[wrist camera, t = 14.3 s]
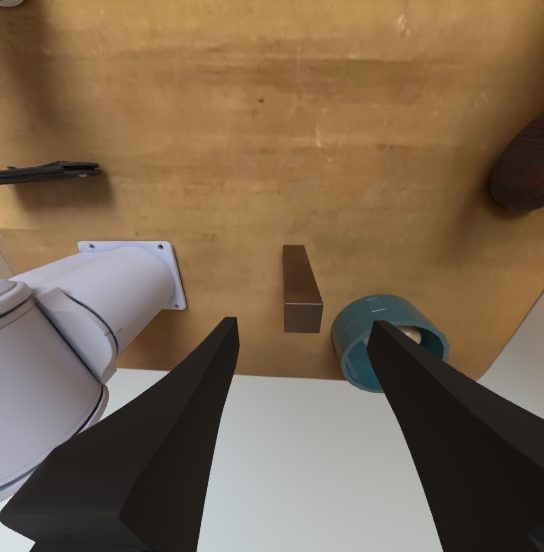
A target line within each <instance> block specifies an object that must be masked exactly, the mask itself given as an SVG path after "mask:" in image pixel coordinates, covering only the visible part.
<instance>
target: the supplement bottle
mask: <svg viewBox="0 0 544 552" xmlns="http://www.w3.org/2000/svg"><path fill="white" fill-rule="evenodd" d="M23 1H24V0H0V6H4V7H13V6H16V5H19V4H20V3H21V2H23Z"/></svg>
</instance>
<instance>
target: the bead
mask: <svg viewBox="0 0 544 552" xmlns="http://www.w3.org/2000/svg"><path fill="white" fill-rule="evenodd" d="M395 327H397V328H398V329H399V330H401V331H402V332H403V333H405V334H406V335H407V336H409V337H410V338H412V339H413V340H414V341H416V342H417V343H418V344H419V343H420V341H421V332H420V330H419V329H418V327H417V326H395Z"/></svg>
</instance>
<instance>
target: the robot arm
mask: <svg viewBox="0 0 544 552" xmlns="http://www.w3.org/2000/svg"><path fill="white" fill-rule="evenodd" d="M77 245H78V248H79V250H80V253H77V254H74V255H72V256H69V257H66V258H63V259H61V260H58V261H55V262H52V263H50V264H47V265H44V266H41V267H39V268H36V269H33V270H30V271H28V272H25V273H22V274H20V275H17V276H15V277H13V278H11V279H9V280H5V279H0V502H2V501H3V500H5V499H7V498H8V497H10V496H12V495H14V496H13V497H12V498H11V499H10V500H9V502H8V503H7V504H6V505H5V506H4V507H3V509H2V510H1V512H0V522H1V523H2V524H4V525H5V526H7V527H8V528H10V529H12V530H14V531H15V532H18V533H19V534H22V535H23V536H25V537H27V538H29V539H31V540H33V541H35V542H36V543H35V544H34V546H33V547H32V549H31V550H30V551H29V552H197V545H198V539H199V533H200V527H201V521H202V515H203V509H204V503H205V497H206V492H207V486H208V481H209V475H210V469H211V465H212V459H213V454H214V449H215V444H216V439H217V434H218V429H219V424H220V420H221V416H222V412H223V408H224V404H225V401H226V398H227V394H228V391H229V387H230V384H231V381H232V378H233V374H234V371H235V367H236V364H237V358H238V353H239V347H240V344H239V335H238V326H237V317H225V318H224V319H223V320H222V321H221V322H220V323H219V324H218V325H217V326H216V328H215V329H214V330H213V331H212V332H211V333H210V334H209V335H208V336H207V337H206V338H205V340H204V341H203V342H202V343H201V344H200V345H199V346H198V347H197V348H196V349H195V350H194V351H193V352H192V353H191V354H189V355H188V356H187V357H186V358H185V359H184V360H183V361H182V362H181V363H180V364H179V365H178V366H176V367H175V368H174V369H173V370H172V371H171V372H169V373H168V374H167V375H166V376H164V377H163V378H162V379H161V380H159V381H158V382H157V383H155V384H154V385H153V386H151V387H150V388H149V389H147V390H146V391H144V392H143V393H142V394H140V395H139V396H138V397H136V398H135V399H133V400H132V401H130V402H129V403H127V404H126V405H124V406H123V407H122V408H120V409H118V410H117V411H115V412H114V413H112V414H111V415H109V416H107V417H106V418H104V419H103V420H101V421H99V420H100V418H101V416H102V415H103V413H104V410H105V408H106V406H107V403H108V399H109V392H108V388H107V386H106V385H105V384H106V382H107V381H108V380H109V379H110V378H111V377H112V375H113V374H114V373H115V372H116V371H117V369H116V367H115V365H114V360H115V359H116V358H117V357H118V356H119V355H120V354H121V353H122V352H123V351H124V349H125V348H126V347H127V346H128V345H129V344H130V343H131V342H132V341H133V340H134V339H135V338H136V336H137V335H138V334H139V333H140V332H141V331H142V330H143V329H144V328H145V327H146V326H147V324H148V323H149V322H150V321H151V320H152V319H153V318H154V317H155V316H156V315H157V314H158V313H159V311H160V310H161V309H170V310H184V309H185V308H186V306H187V304H186V300H185V296H184V292H183V288H182V284H181V280H180V276H179V272H178V267H177V263H176V259H175V255H174V251H173V247H172V244H171V243H170V242H167V241H81V242H78V244H77ZM93 245H94V247H93ZM160 245H162V246H163V248H161V247H160ZM176 304H177V305H178V306H177V305H176ZM366 351H367V354H368V357H369V360H370V363H371V366H372V368H373V371H374V373H375V375H376V377H377V379H378V381H379V383H380V385H381V387H382V389H383V391H384V393H385V395H386V397H387V399H388V401H389V404H390V406H391V408H392V410H393V412H394V414H395V416H396V418H397V420H398V423H399V424H400V427H401V430H402V432H403V435H404V437H405V440H406V442H407V445H408V448H409V450H410V453H411V456H412V458H413V461H414V464H415V467H416V469H417V472H418V475H419V478H420V481H421V483H422V486H423V489H424V492H425V495H426V498H427V501H428V504H429V507H430V510H431V513H432V516H433V520H434V523H435V526H436V529H437V533H438V536H439V539H440V542H441V545H442V549H443V552H544V419H542V418H540V417H538V416H536V415H534V414H533V413H531V412H529V411H527V410H525V409H523V408H521V407H520V406H517V405H516V404H514V403H512V402H510V401H508V400H506V399H505V398H503V397H501V396H499V395H498V394H496V393H494V392H492V391H490V390H489V389H487V388H485V387H484V386H482V385H480V384H479V383H477V382H475V381H474V380H472V379H470V378H469V377H467V376H466V375H464V374H462V373H461V372H459V371H458V370H456V369H455V368H453V367H452V366H450V365H449V364H447V363H446V362H444V361H443V360H441V359H440V358H438V357H437V356H435V355H434V354H432V353H431V352H430V351H428V350H427V349H425V348H424V347H422V346H421V345H420V344H418V343H417V342H416V341H414V340H413V339H412V338H410V337H409V336H407V335H406V334H405V333H403V332H402V331H401V330H399V329H398V328H397V327H395V326H394V325H392V324H391V323H389V322H388V321H386V320H374V322H373V326H372V329H371V333H370V336H369V340H368V343H367V347H366ZM98 421H99V422H98Z"/></svg>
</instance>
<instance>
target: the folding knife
mask: <svg viewBox="0 0 544 552" xmlns="http://www.w3.org/2000/svg"><path fill="white" fill-rule="evenodd" d="M97 167H100V166H99V165H98V164H97V163H87V162H65V161H57V162H53V163H50V164H46V165H42V166H38V167H28V168H20V169H18V168H15V167H7V168H8V169H10V170H2V171H0V185H3V184H17V183H28V182H38V181H47V180H56V179H65V178H74V177H86V176H92V175H99V174H101V173H102V172H101V171H97V170H95V169H94V168H97Z"/></svg>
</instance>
